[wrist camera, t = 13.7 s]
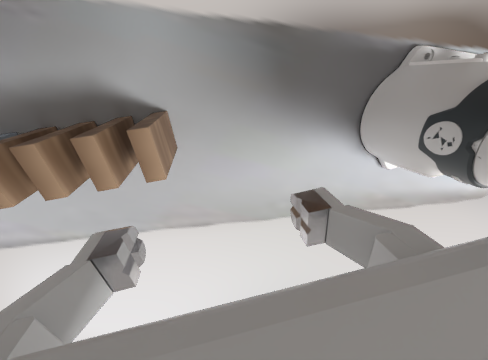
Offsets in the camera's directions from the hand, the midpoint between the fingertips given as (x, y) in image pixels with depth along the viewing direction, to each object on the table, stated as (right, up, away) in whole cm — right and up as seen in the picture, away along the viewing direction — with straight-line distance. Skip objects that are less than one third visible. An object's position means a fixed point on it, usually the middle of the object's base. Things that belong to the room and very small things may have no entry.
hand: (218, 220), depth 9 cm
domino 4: (-9, +8, +17) cm, 21 cm away
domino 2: (-18, +7, +16) cm, 25 cm away
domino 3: (-14, +8, +17) cm, 23 cm away
